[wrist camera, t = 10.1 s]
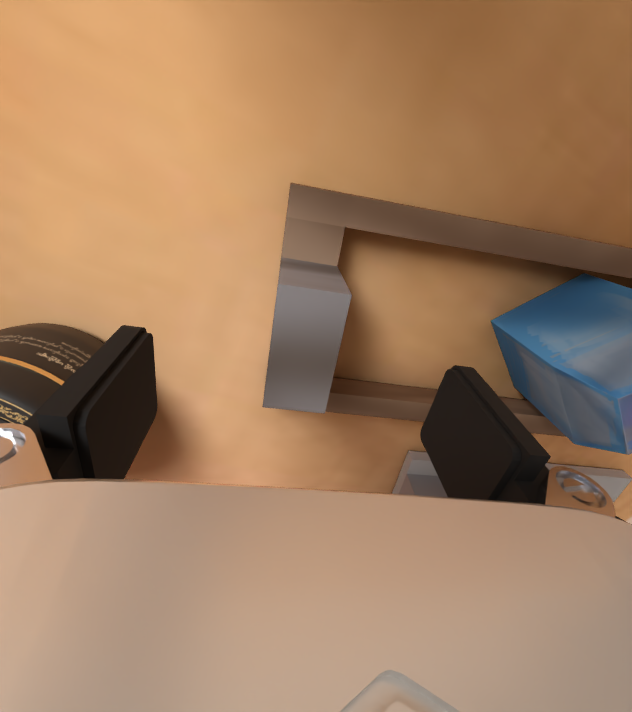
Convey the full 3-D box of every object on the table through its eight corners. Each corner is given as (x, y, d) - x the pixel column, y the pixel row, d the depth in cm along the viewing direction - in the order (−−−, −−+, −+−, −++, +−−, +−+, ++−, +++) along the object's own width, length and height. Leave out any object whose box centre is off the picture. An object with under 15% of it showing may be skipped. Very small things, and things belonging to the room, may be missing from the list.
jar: (87, 461, 26) (16, 559, 20) (-48, 375, 22) (-194, 461, 16) (177, 390, 24) (132, 475, 17) (45, 280, 20) (-82, 333, 13)
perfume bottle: (598, 347, 25) (832, 478, 14) (513, 386, 26) (671, 535, 15) (583, 272, 22) (859, 364, 11) (490, 320, 23) (660, 444, 12)
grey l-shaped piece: (408, 450, 28) (430, 502, 23) (622, 470, 30) (679, 520, 26) (382, 517, 31) (397, 573, 27) (576, 529, 34) (619, 581, 30)
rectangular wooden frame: (290, 182, 18) (290, 186, 12) (679, 257, 22) (836, 290, 15) (264, 388, 24) (255, 461, 18) (574, 422, 27) (657, 494, 21)
